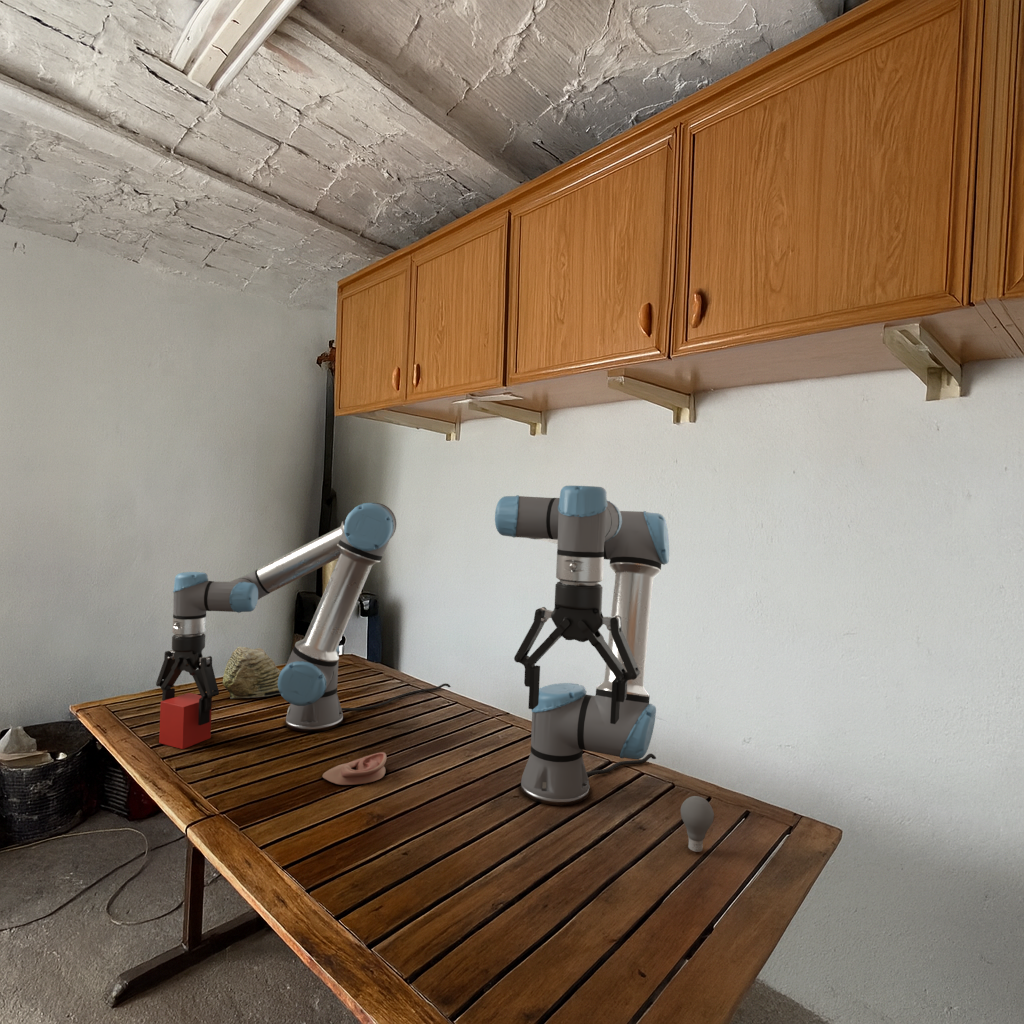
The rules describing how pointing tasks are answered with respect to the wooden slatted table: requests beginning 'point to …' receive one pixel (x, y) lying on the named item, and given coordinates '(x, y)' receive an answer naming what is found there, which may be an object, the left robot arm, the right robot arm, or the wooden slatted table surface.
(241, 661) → the fossil
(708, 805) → the light bulb
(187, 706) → the brick
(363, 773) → the anatomical model
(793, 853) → the wooden slatted table surface
